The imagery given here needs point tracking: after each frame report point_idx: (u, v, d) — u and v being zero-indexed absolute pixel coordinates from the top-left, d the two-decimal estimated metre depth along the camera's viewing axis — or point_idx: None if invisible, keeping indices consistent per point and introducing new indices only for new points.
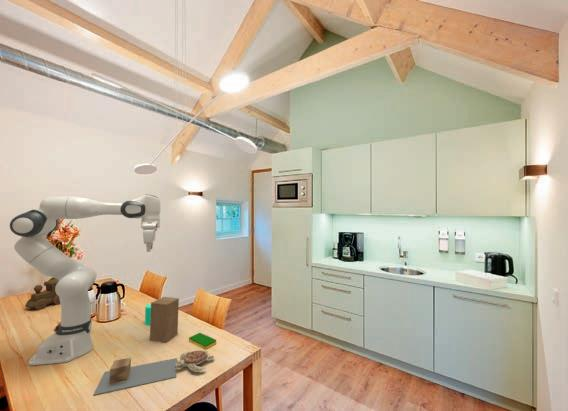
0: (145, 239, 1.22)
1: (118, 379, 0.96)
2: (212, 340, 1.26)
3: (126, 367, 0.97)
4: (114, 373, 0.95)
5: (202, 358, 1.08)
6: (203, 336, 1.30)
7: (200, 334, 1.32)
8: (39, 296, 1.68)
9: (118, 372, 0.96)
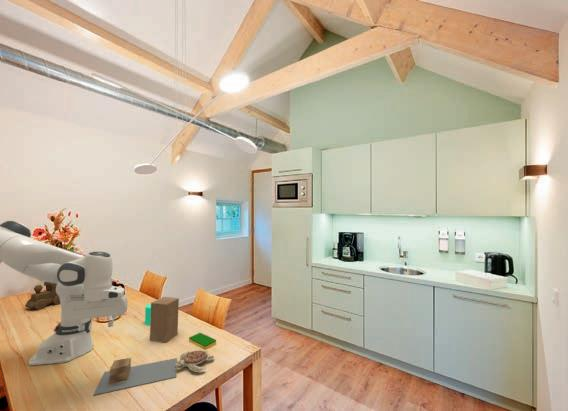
0: (125, 308, 0.99)
1: (118, 379, 0.96)
2: (212, 340, 1.26)
3: (126, 367, 0.97)
4: (114, 373, 0.95)
5: (202, 358, 1.08)
6: (203, 336, 1.30)
7: (200, 334, 1.32)
8: (39, 296, 1.68)
9: (118, 372, 0.96)
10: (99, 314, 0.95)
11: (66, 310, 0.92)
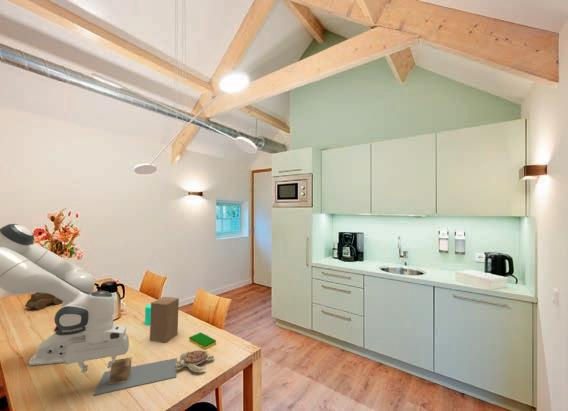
0: (127, 347, 0.99)
1: (118, 379, 0.96)
2: (212, 340, 1.26)
3: (127, 367, 0.97)
4: (115, 372, 0.95)
5: (202, 358, 1.08)
6: (203, 336, 1.30)
7: (201, 334, 1.32)
8: (39, 296, 1.68)
9: (119, 371, 0.96)
10: (100, 355, 0.95)
11: (67, 353, 0.91)
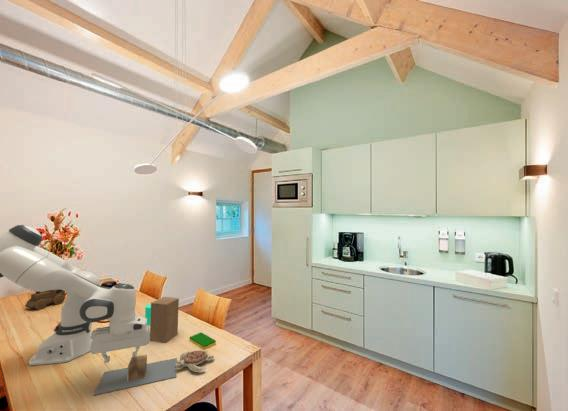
0: (149, 338, 1.02)
1: (131, 372, 0.98)
2: (211, 340, 1.26)
3: (142, 376, 0.99)
4: (139, 367, 0.99)
5: (202, 358, 1.08)
6: (203, 336, 1.30)
7: (201, 334, 1.33)
8: (39, 296, 1.68)
9: (139, 370, 0.99)
10: (124, 345, 0.98)
11: (93, 343, 0.94)
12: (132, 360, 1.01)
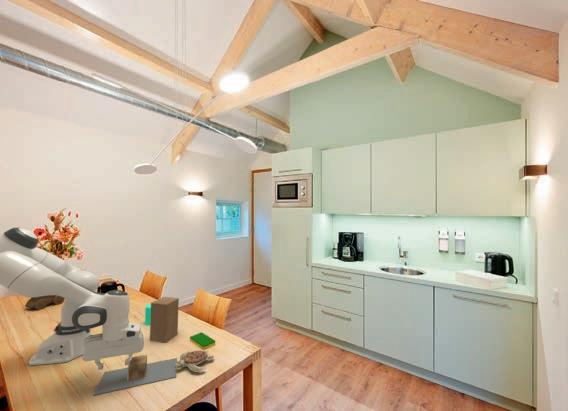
0: (142, 345, 1.01)
1: (131, 372, 0.98)
2: (211, 341, 1.26)
3: (142, 376, 0.99)
4: (139, 367, 0.99)
5: (202, 358, 1.08)
6: (204, 336, 1.30)
7: (201, 334, 1.33)
8: (39, 296, 1.68)
9: (139, 370, 0.99)
10: (117, 353, 0.97)
11: (85, 350, 0.93)
12: (132, 360, 1.01)
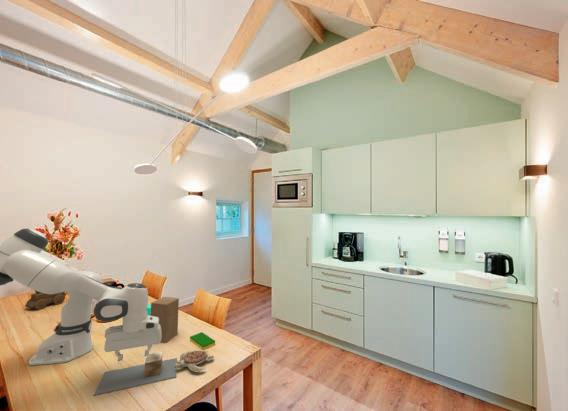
0: (161, 337, 1.04)
1: (153, 364, 1.01)
2: (211, 341, 1.25)
3: (145, 375, 0.99)
4: (156, 370, 1.01)
5: (202, 358, 1.08)
6: (204, 336, 1.30)
7: (202, 334, 1.33)
8: (39, 296, 1.68)
9: (152, 371, 1.00)
10: (136, 344, 0.99)
11: (107, 341, 0.96)
12: (161, 357, 1.05)
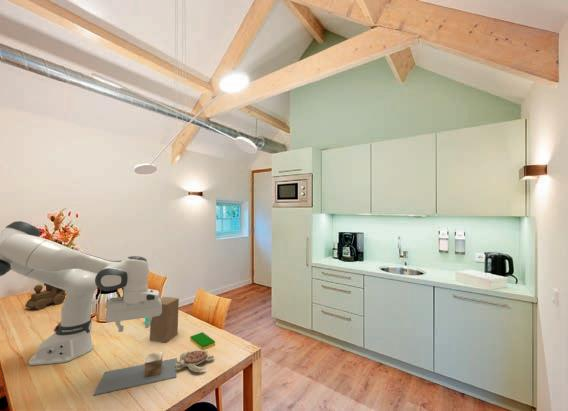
0: (161, 310, 1.04)
1: (153, 364, 1.01)
2: (211, 341, 1.25)
3: (145, 375, 0.99)
4: (156, 370, 1.01)
5: (202, 358, 1.08)
6: (204, 336, 1.30)
7: (202, 334, 1.33)
8: (39, 296, 1.68)
9: (152, 371, 1.00)
10: (137, 315, 1.00)
11: (107, 312, 0.96)
12: (161, 357, 1.05)
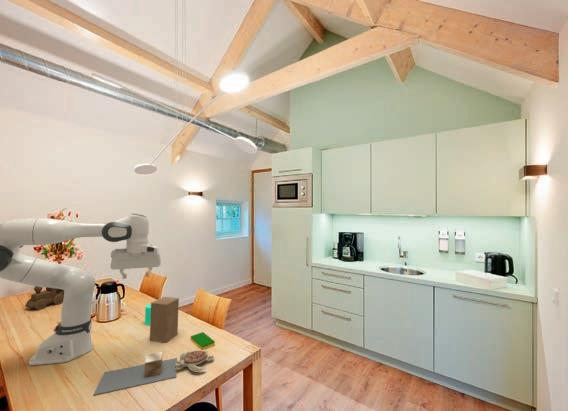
0: (160, 262, 1.18)
1: (153, 364, 1.01)
2: (210, 341, 1.25)
3: (145, 375, 0.99)
4: (156, 370, 1.01)
5: (202, 358, 1.08)
6: (204, 336, 1.30)
7: (202, 334, 1.33)
8: (39, 296, 1.68)
9: (152, 371, 1.00)
10: (138, 265, 1.14)
11: (112, 260, 1.10)
12: (161, 357, 1.05)
